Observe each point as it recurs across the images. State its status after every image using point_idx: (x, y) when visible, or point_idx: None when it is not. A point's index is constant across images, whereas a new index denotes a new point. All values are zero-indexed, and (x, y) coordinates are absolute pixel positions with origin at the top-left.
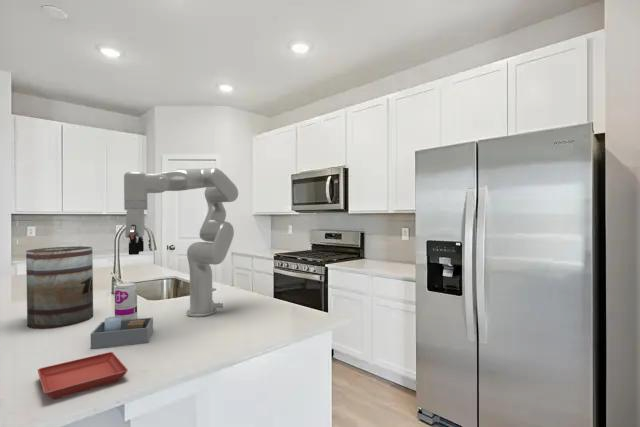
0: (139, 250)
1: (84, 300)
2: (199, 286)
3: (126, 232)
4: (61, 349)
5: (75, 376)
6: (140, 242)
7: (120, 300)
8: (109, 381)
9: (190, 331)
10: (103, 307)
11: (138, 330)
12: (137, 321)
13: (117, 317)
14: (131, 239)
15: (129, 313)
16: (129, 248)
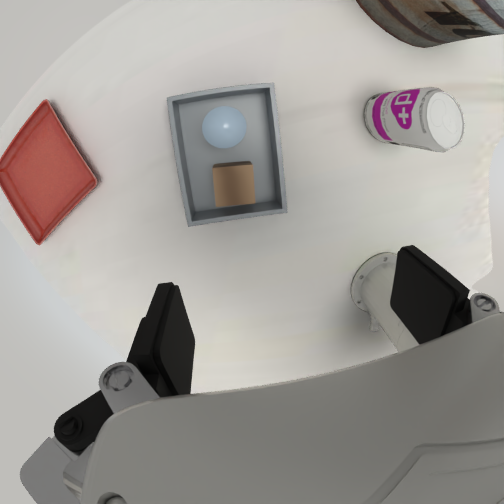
0: (395, 288)
1: (418, 21)
2: (390, 325)
3: (84, 477)
4: (187, 42)
5: (47, 158)
6: (430, 338)
7: (395, 106)
8: (34, 221)
9: (252, 286)
10: (470, 67)
11: (184, 204)
12: (242, 185)
13: (236, 134)
14: (92, 418)
15: (377, 129)
16: (148, 321)
